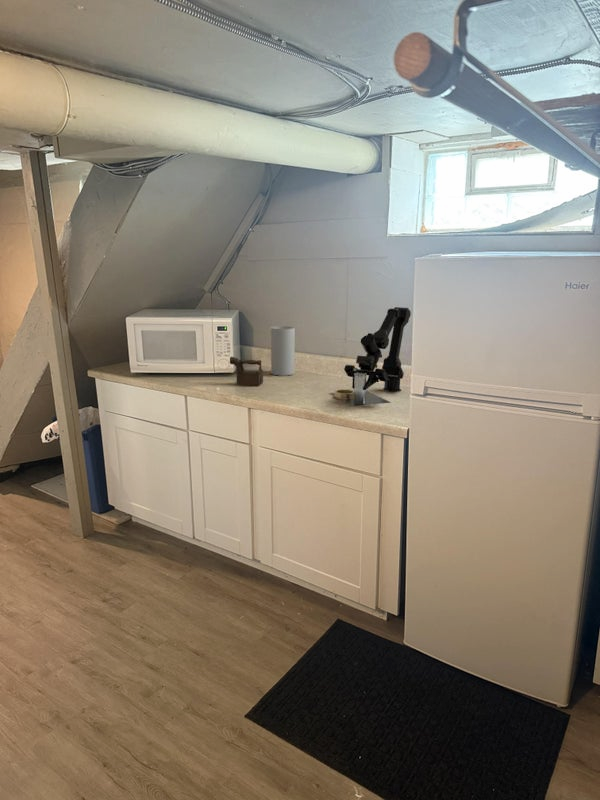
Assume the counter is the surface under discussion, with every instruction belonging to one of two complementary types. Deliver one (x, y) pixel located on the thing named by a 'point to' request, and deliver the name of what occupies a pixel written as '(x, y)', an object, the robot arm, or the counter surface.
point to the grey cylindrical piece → (359, 387)
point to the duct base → (368, 400)
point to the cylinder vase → (282, 350)
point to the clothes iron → (247, 372)
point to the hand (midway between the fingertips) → (358, 389)
